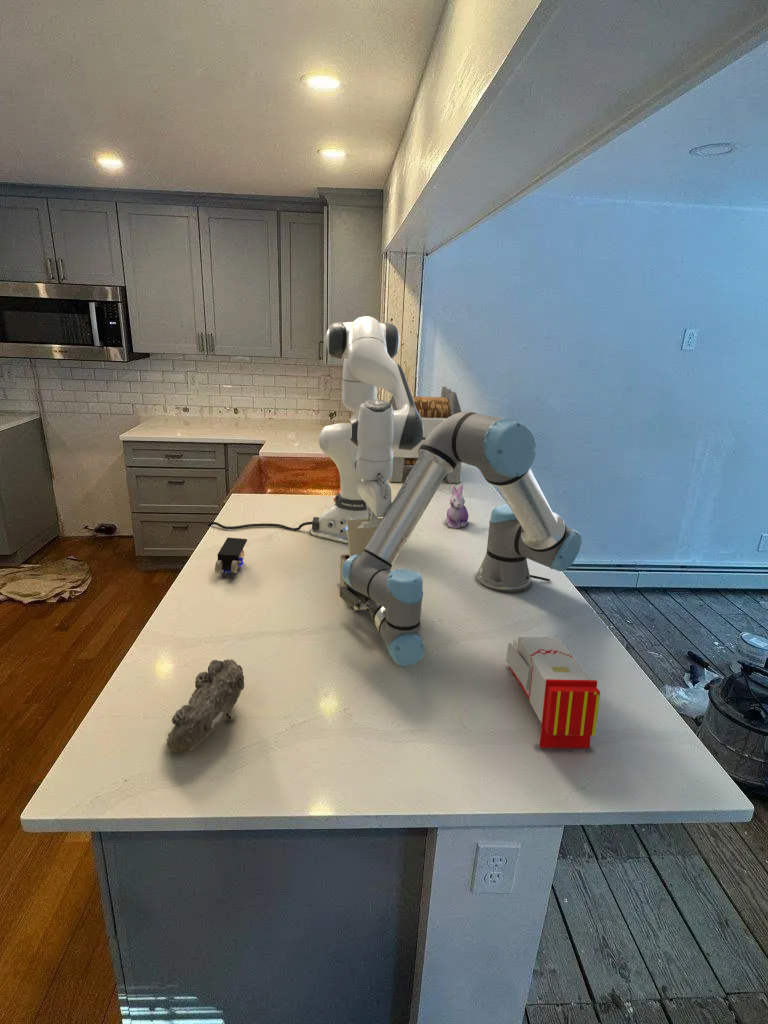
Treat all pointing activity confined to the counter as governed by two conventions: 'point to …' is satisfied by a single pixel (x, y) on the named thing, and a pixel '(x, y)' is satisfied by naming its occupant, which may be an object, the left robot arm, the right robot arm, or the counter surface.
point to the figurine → (457, 509)
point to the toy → (555, 691)
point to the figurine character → (230, 556)
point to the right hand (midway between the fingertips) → (366, 575)
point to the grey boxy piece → (427, 430)
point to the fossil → (206, 705)
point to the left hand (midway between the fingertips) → (372, 522)
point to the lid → (360, 534)
